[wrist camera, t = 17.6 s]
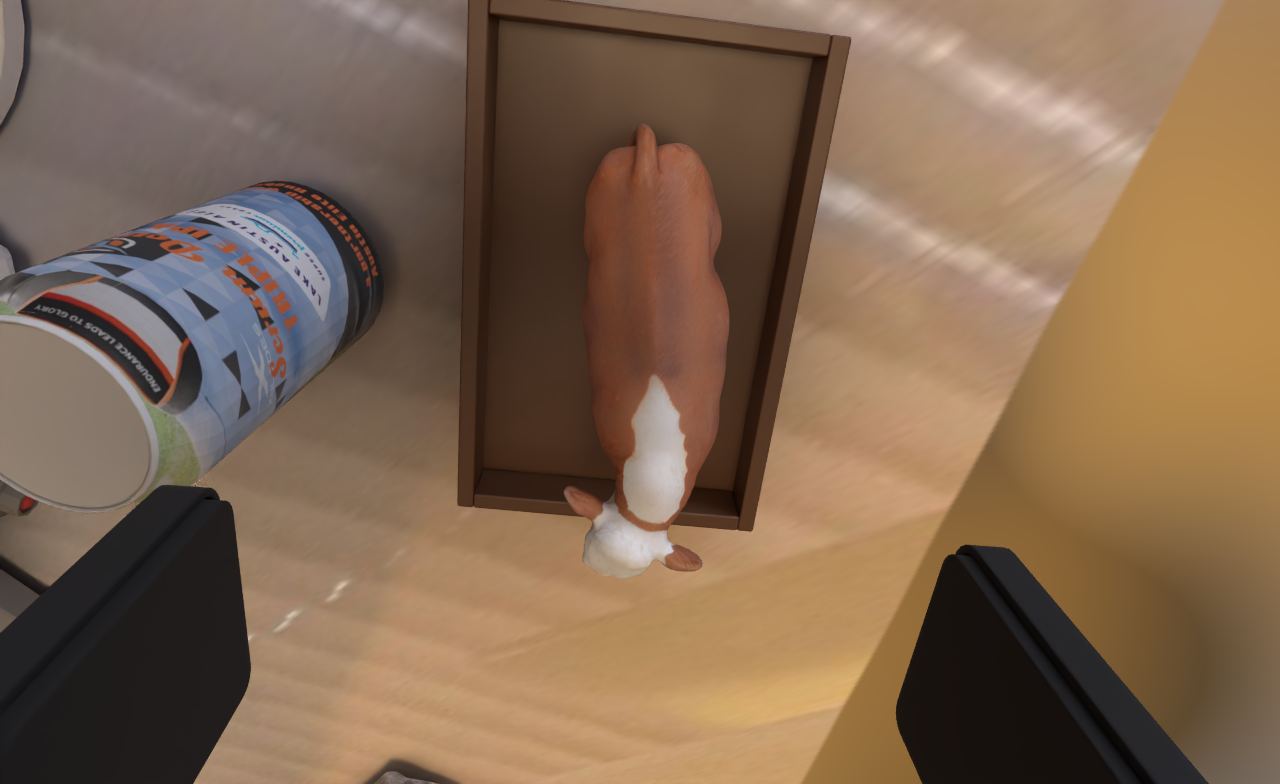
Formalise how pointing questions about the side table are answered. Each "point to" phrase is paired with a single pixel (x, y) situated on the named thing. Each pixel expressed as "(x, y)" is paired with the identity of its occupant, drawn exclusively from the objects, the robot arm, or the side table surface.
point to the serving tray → (555, 216)
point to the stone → (399, 779)
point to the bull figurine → (650, 347)
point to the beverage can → (174, 342)
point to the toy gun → (3, 593)
